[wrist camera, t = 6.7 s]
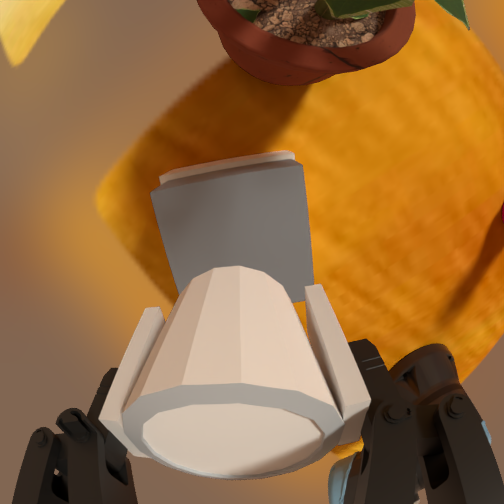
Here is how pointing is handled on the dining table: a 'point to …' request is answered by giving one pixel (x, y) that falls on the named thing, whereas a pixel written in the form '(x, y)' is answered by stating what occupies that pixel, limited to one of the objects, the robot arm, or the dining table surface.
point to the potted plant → (313, 34)
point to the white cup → (233, 384)
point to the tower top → (238, 223)
